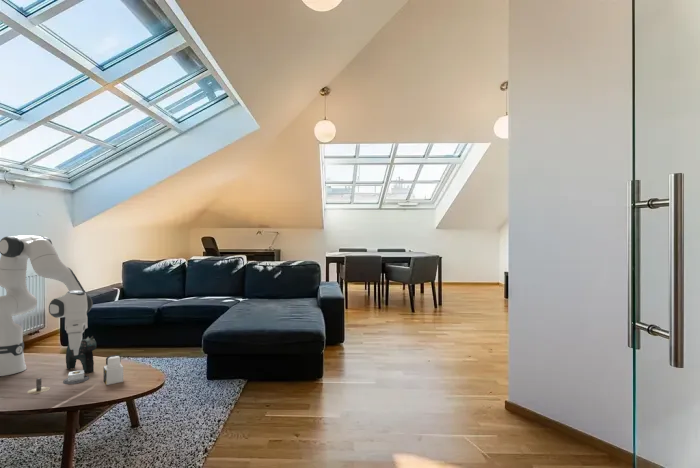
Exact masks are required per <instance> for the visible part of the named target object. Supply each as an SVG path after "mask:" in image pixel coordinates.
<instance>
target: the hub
mask: <svg viewBox="0 0 700 468" xmlns="http://www.w3.org/2000/svg"><path fill="white" fill-rule="evenodd" d="M75 374H76V373H75ZM89 379H90V377H89V375H86V374H84V380H78V381H72V382H68V377H67V378H65V379H63V381H62V383H63V384H65V385H74V384H79V383H83V382H86V381H88V380H89Z"/></svg>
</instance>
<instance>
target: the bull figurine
mask: <svg viewBox="0 0 700 468" xmlns="http://www.w3.org/2000/svg"><path fill="white" fill-rule="evenodd" d="M82 334H84V335H83V336H84V337H83V339H82V341H81V345H80V348H79V354H78V355H74V350H71V349H70V347H69V343H68V344H67V347H66V351H65V352H66V353H65V364H66V365H65V366H66V369H67V370H73V368H74V369H75V368H76V366H77V364H76V363H77V360H78V361H79V362H80V363H81V365H82V370H84V374H90V373H93V372H94V366H95V365H94V364H95V361H94V353H93V351H94V350H96V349H97V341H96V340H95V338H94V335H92V336H91V337H89V336H87V337H86V335H85V334H86V333H85V331H84V332H83V333H82Z"/></svg>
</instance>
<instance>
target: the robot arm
mask: <svg viewBox="0 0 700 468" xmlns="http://www.w3.org/2000/svg"><path fill="white" fill-rule="evenodd" d="M28 260H29V262H30V264H31V266H32V267H31V268H32V269H33V271H34V273H36V274H37V275H38V276H40V277H43V278H44V279H45V278H46V279H51V280H55V281H59V282H61V283H62V284H64V285H65V286H66V288H67V290H68V291H67V292H66V293H65V294H64V295H62V296H59V297H56V298H53V299H52V300H51V301H50V302H49V305H48V313H49V314H50V315H51V316H52V317H53V318H56V319H57V318H58V319H61V318H64V330H65V331H66V334H67V337H68V344H69V347H70V349H71V350H74V355H78V354H79V348H80V345H81V341H82V340H83V334H84V333H85V330H86V329H88V328H89V327H88V320H89V319H88V313H89V312H90V311H91V310H92V308H93V305H94V302H93V299H92V298H91V296H90V295H89V294H88V292H87V291H85V289H84V287H83V285H82V284H81V283H80V281H79V279H78V278H77V276H76V274H75V273H74V272H73V270H72V269H71V268H70V267H68V266H66V265H65V264H64V263H63V262H62V260H61V259H60V257H59V255H58V253H57V251H56V249H55V247H54V246H53V243H52V241H51V239H50V238H49V237H47V236H43V235H32V234H31V235H29V234H27V235H26V234H25V235H8V236H4V237H2V238H0V287H1V288H4V289H5V290H6V295H0V377H4V376H9V375H14V374H17V373H21V372H24V371H26V370H27V365H26V362H25V361H26V360H25V354H24V349H25V343H24V341H23V340H24V338H23V336H24V335H23V333H24V331H23V330H24V329H23V327H22V325H20V324H18V323H16V322H14V319H13V317H14V316H20V315H24V314H27V313H29V312H32V311H34V310H35V309H36V307H37V304H38V300H37V297H36V296H35V295H34V294H33V293H31V292H30V291H29V289H28V287H27V282H26V279H27V268H28ZM83 332H84V333H83Z"/></svg>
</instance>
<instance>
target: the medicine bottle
mask: <svg viewBox="0 0 700 468" xmlns="http://www.w3.org/2000/svg"><path fill="white" fill-rule="evenodd" d="M103 382H104V385H106V386H109V385H114V384H119V383H123V382H124V366H123V364H122V356H121V355H118V354H114V355H113V354H112V355H109V356H107V357H106V358H105V365H104V366H103Z"/></svg>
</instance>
